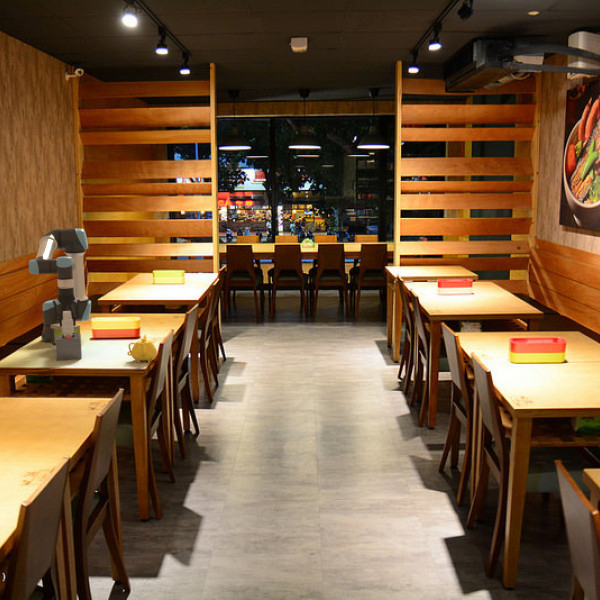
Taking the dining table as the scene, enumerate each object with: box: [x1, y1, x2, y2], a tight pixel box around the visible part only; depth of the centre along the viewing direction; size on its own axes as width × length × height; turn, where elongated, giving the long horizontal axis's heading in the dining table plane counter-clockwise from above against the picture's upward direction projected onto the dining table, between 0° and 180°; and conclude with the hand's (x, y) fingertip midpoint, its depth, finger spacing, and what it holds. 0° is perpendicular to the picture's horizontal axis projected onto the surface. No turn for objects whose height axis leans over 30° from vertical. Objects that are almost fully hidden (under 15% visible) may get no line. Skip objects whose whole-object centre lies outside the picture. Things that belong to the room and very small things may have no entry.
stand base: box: [55, 333, 83, 362], centre depth 359 cm, size 16×16×13 cm
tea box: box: [50, 323, 81, 351], centre depth 377 cm, size 15×10×15 cm, turn 45°
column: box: [63, 311, 73, 338], centre depth 358 cm, size 6×4×24 cm
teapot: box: [126, 334, 158, 363], centre depth 357 cm, size 20×15×12 cm
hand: (68, 332), depth 358 cm, fingers closed on column, 4 cm apart
